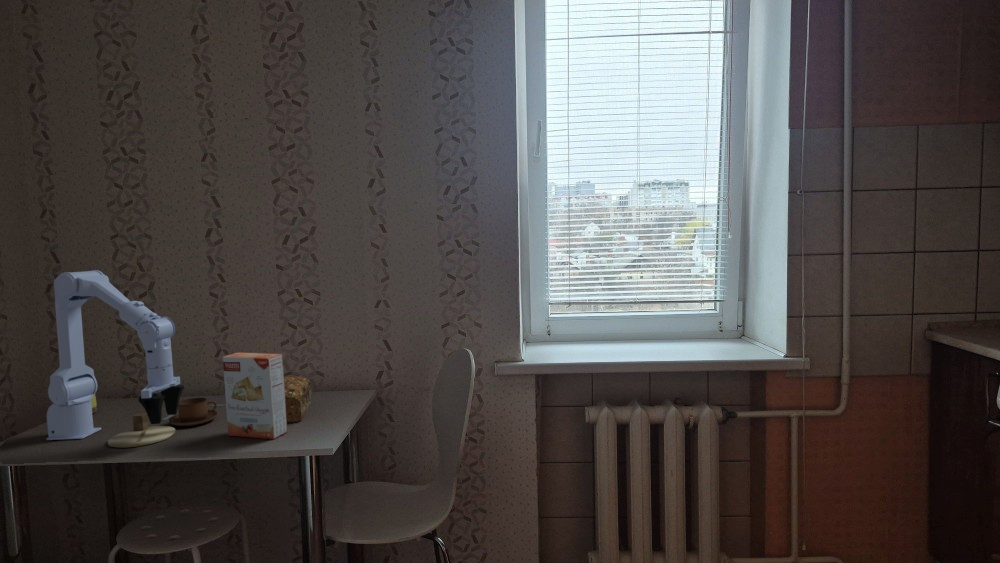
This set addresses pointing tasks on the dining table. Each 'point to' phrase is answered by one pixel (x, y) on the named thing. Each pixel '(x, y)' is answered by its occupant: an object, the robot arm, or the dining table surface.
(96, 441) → the dining table surface
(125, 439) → the cream disc with block
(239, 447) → the dining table surface
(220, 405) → the tape mark far
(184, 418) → the cup and saucer
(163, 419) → the tape mark left
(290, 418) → the bread
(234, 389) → the cracker box
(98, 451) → the dining table surface
